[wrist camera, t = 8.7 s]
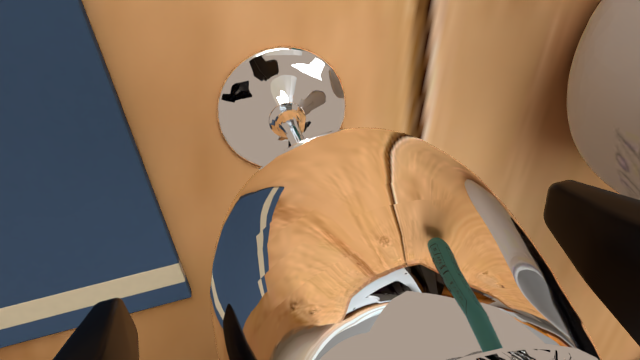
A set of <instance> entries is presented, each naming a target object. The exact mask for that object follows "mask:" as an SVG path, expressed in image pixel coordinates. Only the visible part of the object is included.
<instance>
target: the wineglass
mask: <svg viewBox="0 0 640 360" xmlns="http://www.w3.org/2000/svg"><path fill="white" fill-rule="evenodd" d="M345 108H346V100H345V92H344V89H343V86H342V83H341V80H340V78H339V76H338V75H337V73H336V72H335V70H334V69H333V67H332V66H331V65H330V64H329V63H327V62H326V61H325V60H324V59H323V58H322V57H320V56H319V55H317V54H315V53H313V52H311V51H309V50H306V49H302V48H298V47H291V46H278V47H272V48H267V49H264V50H261V51H259V52H256V53H254V54H252V55H250V56H249V57H247V58H246V59H244V60H243V61H241V62H240V63H239V64H238V65H237V66H236V67H235V68H234V69H233V70H232V71H231V73H230V74H229V75H228V77H227V78H226V80H225V82H224V84H223V86H222V88H221V91H220V93H219V97H218V104H217V119H218V123H219V127H220V131H221V133H222V135H223V137H224V139H225V140H226V142H227V144H228V145H229V146H230V148H231V149H232V150H233V151H234V152H235V153H236V154H237V155H239V156H240V157H241V158H243V159H245V160H246V161H248V162H250V163H252V164H254V165H258V166H261V168H260V169H259V170H258V171H257V172H256V173H255V174H254V175H253V176H252V177H251V178H250V179H249V180H248V181H247V182H246V184H245V185H244V186H243V187H242V189H241V190H240V191H239V192H238V194H237V195H236V197H235V199H234V200H233V202H232V204H231V206H230V208H229V210H228V212H227V214H226V216H225V219H224V221H223V224H222V227H221V230H220V233H219V236H218V239H217V242H216V245H215V251H214V260H213V269H212V279H211V289H210V297H211V314H212V322H213V328H214V335H215V341H216V347H217V352H218V357H219V360H602V358H601V356H600V354H599V352H598V350H597V348H596V346H595V344H594V343H593V341H592V339H591V337H590V335H589V333H588V331H587V330H586V328H585V326H584V324H583V322H582V321H581V319H580V317H579V316H578V314H577V312H576V311H575V309H574V307H573V305H572V304H571V302H570V300H569V299H568V297H567V295H566V293H565V292H564V290H563V288H562V287H561V285H560V283H559V281H558V280H557V278H556V276H555V275H554V273H553V271H552V270H551V268H550V267H549V265H548V264H547V262H546V261H545V259H544V258H543V256H542V255H541V253H540V252H539V250H538V249H537V247H536V246H535V244H534V243H533V241H532V240H531V239H530V237H529V236H528V235H527V233H526V232H525V230H524V229H523V228H522V226H521V225H520V224H519V222H518V221H517V219H516V218H515V217H514V215H513V214H512V213H511V212H510V210H509V209H508V208H507V207H506V205H505V204H504V203H503V202H502V201H501V200H500V199H499V198H498V197H497V196H496V195H495V194H494V193H493V191H492V190H491V189H490V188H489V187H488V186H487V185H486V184H485V183H484V182H483V181H482V180H481V179H480V178H479V177H478V176H477V175H476V174H474V173H473V172H472V171H471V170H470V169H468V168H467V167H466V166H465V165H463V164H462V163H461V162H459V161H458V160H456V159H455V158H454V157H452V156H451V155H449V154H447V153H445V152H444V151H442V150H440V149H438V148H436V147H435V146H433V145H431V144H429V143H427V142H426V141H424V140H422V139H419V138H416V137H413V136H411V135H408V134H405V133H402V132H397V131H393V130H387V129H381V128H368V127H358V128H349V129H342V130H340V128H341V126H342V123H343V120H344V116H345Z"/></svg>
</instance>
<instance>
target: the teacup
mask: <svg viewBox="0 0 640 360" xmlns="http://www.w3.org/2000/svg"><path fill="white" fill-rule="evenodd" d="M567 116H568V122H569V127H570V132H571V135H572V138H573V141H574V143H575V145H576V147H577V149H578V151H579V153H580V155H581V157H582V158H583V159H584V161H585V162H586V163H587V165H588V166H589V167H590V168H591V169H592V170H593V171H594V172H595V173H596V174H597V175H598V176H599V177H600V178H601V179H602V180H603V181H604V182H605V183H606V184H608V185H609V186H610V187H612V188H613V189H614V190H616V191H617V192H618V193H620V194H621V195H624V196H628V197H631V198H635V199H638V200H640V0H601V2H600V3H599V5H598V6H597V8H596V9H595V11H594V12H593V14H592V16H591V17H590V19H589V21H588V24H587V26H586V28H585V30H584V32H583V34H582V36H581V39H580V41H579V43H578V46H577V49H576V52H575V55H574V58H573V61H572V65H571V69H570V73H569V79H568V88H567Z"/></svg>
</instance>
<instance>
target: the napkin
mask: <svg viewBox="0 0 640 360" xmlns="http://www.w3.org/2000/svg"><path fill="white" fill-rule="evenodd" d="M190 297H191V288H190V286H189V283H188V280H187V278H186V275H185V273H184V270H183V267H182V265H181V262H180V259H179V257H178V254H177V251H176V249H175V246H174V244H173V241H172V238H171V236H170V233H169V230H168V228H167V225H166V222H165V220H164V217H163V215H162V212H161V209H160V207H159V204H158V201H157V199H156V196H155V193H154V191H153V188H152V185H151V183H150V180H149V178H148V175H147V172H146V170H145V167H144V164H143V162H142V159H141V156H140V154H139V151H138V149H137V146H136V143H135V141H134V138H133V135H132V133H131V130H130V127H129V125H128V122H127V120H126V117H125V114H124V112H123V109H122V106H121V104H120V101H119V98H118V96H117V93H116V90H115V88H114V85H113V83H112V80H111V77H110V75H109V72H108V69H107V67H106V64H105V61H104V59H103V56H102V54H101V51H100V48H99V46H98V43H97V40H96V38H95V35H94V32H93V30H92V27H91V25H90V22H89V19H88V17H87V14H86V11H85V9H84V6H83V3H82V1H81V0H0V348H2V347H6V346H9V345H13V344H17V343H21V342H24V341H28V340H32V339H36V338H39V337H43V336H47V335H51V334H54V333H58V332H62V331H66V330H69V329H73V328H77V327H78V326H79V325H80V323H81V322H82V321H83V320H84V318H85V317H86V316H87V314H88V313H89V312H90V310H91V309H92V308H93V306H94V305H95V304H97V303H98V302H101V301H105V300H108V299H112V298H121V300H122V301H123V302H124V304H125V306H126V308H127V310H128V312H129V314H130V313H133V312H137V311H141V310H145V309H148V308H152V307H156V306H160V305H163V304H167V303H171V302H175V301H178V300H182V299H186V298H190Z"/></svg>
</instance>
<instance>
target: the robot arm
mask: <svg viewBox="0 0 640 360" xmlns="http://www.w3.org/2000/svg"><path fill="white" fill-rule="evenodd" d="M544 220H545V223H546V225H547V227H548V228H549V230H550V231H551V233H552V234H553V236H554V237H555V239H556V240H557V241H558V243H559V244H560V246H561V247H562V249H563V250H564V252H565V253H566V255H567V256H568V258H569V259H570V260H571V262H572V263H573V265H574V266H575V268H576V269H577V271H578V272H579V273H580V275H581V276H582V278H583V279H584V280H585V282H586V283H587V284H588V285H589V287H590V288H591V289H592V290H593V292H594V293H595V294H596V295H597V296H598V298H599V299H600V300H601V301H602V302H603V303H604V305H605V306H606V307H607V308H608V309H609V311H610V312H611V313H612V314H613V315H614V317H615V318H616V319H617V320H618V321H619V322H620V324H621V325H622V326H623V327H624V328H625V330H626V331H627V332H628V333H629V334H630V336H631V337H632V338H633V339H634V340H635V341H636V343H637V344H638V345H639V346H640V200H638V199H635V198H631V197H628V196H624V195H621V194H618V193H614V192H611V191H607V190H604V189H600V188H597V187H594V186H590V185H587V184H583V183H580V182H576V181H573V180H565V181H561V182H557V183H554V184H552V185H551V186H550V187H549V189H548V193H547V198H546V204H545V209H544ZM53 360H139V348H138V333H137V329H136V326H135V324H134V322H133V320H132V318H131V316H130V314H129V312H128V310H127V308H126V306H125V304H124V302H123V301H122V300H121V298H112V299H108V300H105V301H101V302H98V303H97V304H95V305H94V306H93V308H92V309H91V310H90V312H89V313H88V314H87V316H86V317H85V318H84V320H83V321H82V322H81V323H80V325H79V326H78V327H77V329H76V330H75V331H74V333H73V334H72V335H71V336H70V338H69V339H68V340H67V342H66V343H65V344H64V346H63V347H62V348H61V350H60V351H59V352H58V353H57V355H56V356H55V357H54V359H53Z"/></svg>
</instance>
